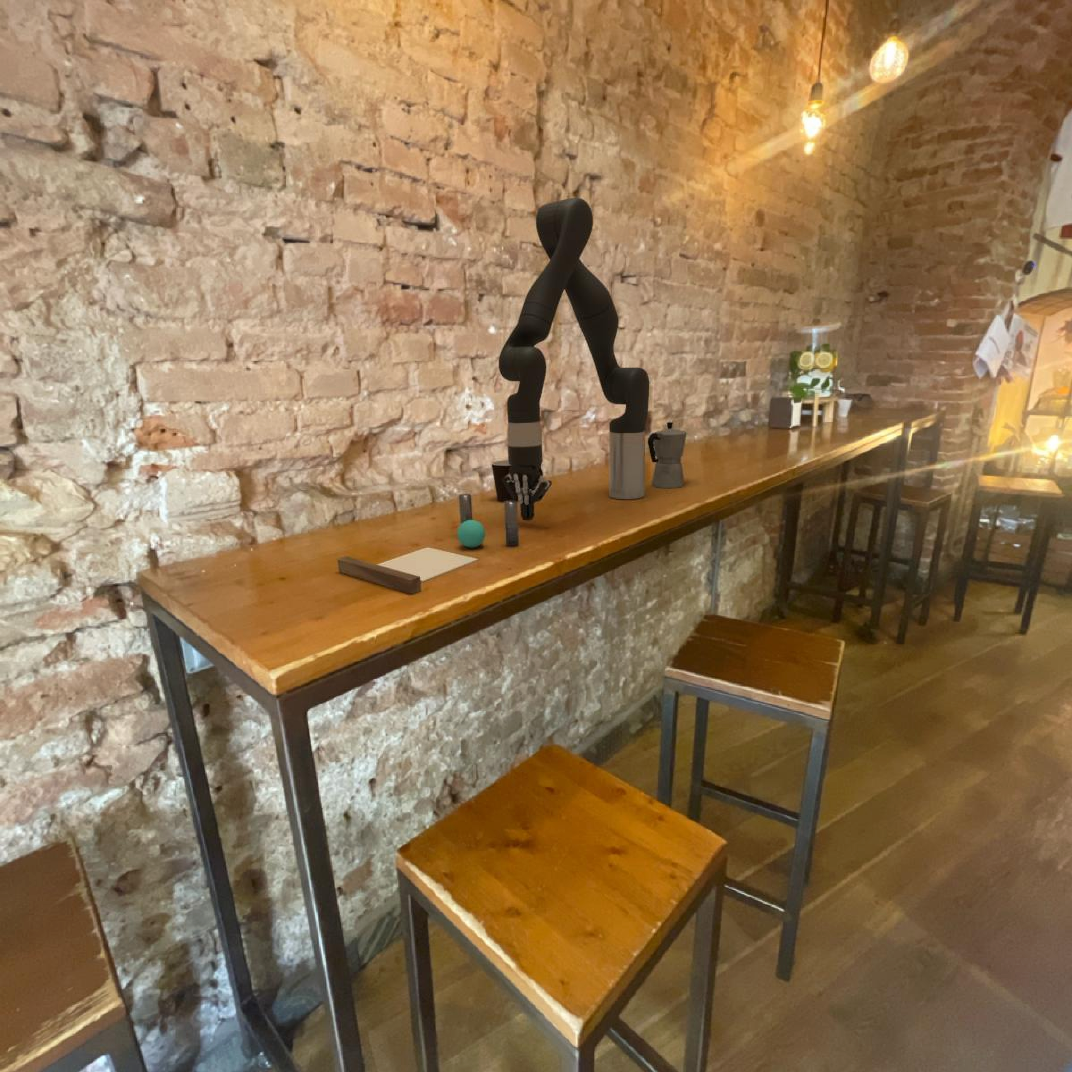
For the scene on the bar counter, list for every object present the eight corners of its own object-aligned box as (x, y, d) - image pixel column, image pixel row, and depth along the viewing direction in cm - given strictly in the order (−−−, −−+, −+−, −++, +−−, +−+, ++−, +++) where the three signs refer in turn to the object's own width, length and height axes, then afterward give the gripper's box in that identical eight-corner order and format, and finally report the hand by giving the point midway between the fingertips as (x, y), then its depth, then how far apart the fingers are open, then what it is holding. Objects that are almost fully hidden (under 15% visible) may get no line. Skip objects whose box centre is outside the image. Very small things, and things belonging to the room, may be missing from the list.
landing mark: (427, 548, 125) (427, 547, 125) (478, 560, 117) (477, 559, 117) (371, 567, 115) (371, 566, 114) (422, 581, 106) (422, 580, 106)
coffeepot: (669, 479, 184) (671, 419, 179) (695, 484, 177) (698, 420, 172) (634, 487, 175) (635, 423, 170) (660, 492, 168) (662, 426, 163)
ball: (474, 524, 129) (457, 513, 124) (494, 528, 125) (478, 517, 121) (464, 548, 127) (447, 539, 123) (484, 553, 124) (468, 544, 120)
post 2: (511, 542, 127) (509, 499, 125) (521, 544, 126) (519, 501, 123) (503, 545, 125) (501, 502, 123) (513, 547, 124) (511, 504, 121)
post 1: (467, 533, 135) (464, 493, 132) (475, 535, 133) (473, 494, 131) (458, 536, 133) (456, 495, 130) (467, 538, 131) (464, 496, 129)
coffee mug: (497, 504, 160) (495, 466, 157) (490, 497, 168) (488, 461, 165) (539, 500, 163) (538, 463, 160) (531, 494, 171) (530, 458, 168)
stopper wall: (348, 569, 114) (346, 556, 113) (421, 590, 102) (420, 576, 101) (339, 572, 113) (337, 559, 112) (412, 594, 101) (410, 580, 100)
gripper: (559, 442, 133) (561, 519, 137) (512, 438, 140) (515, 512, 145) (538, 446, 127) (540, 527, 132) (490, 443, 135) (494, 519, 140)
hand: (527, 519), depth 139 cm, fingers closed
